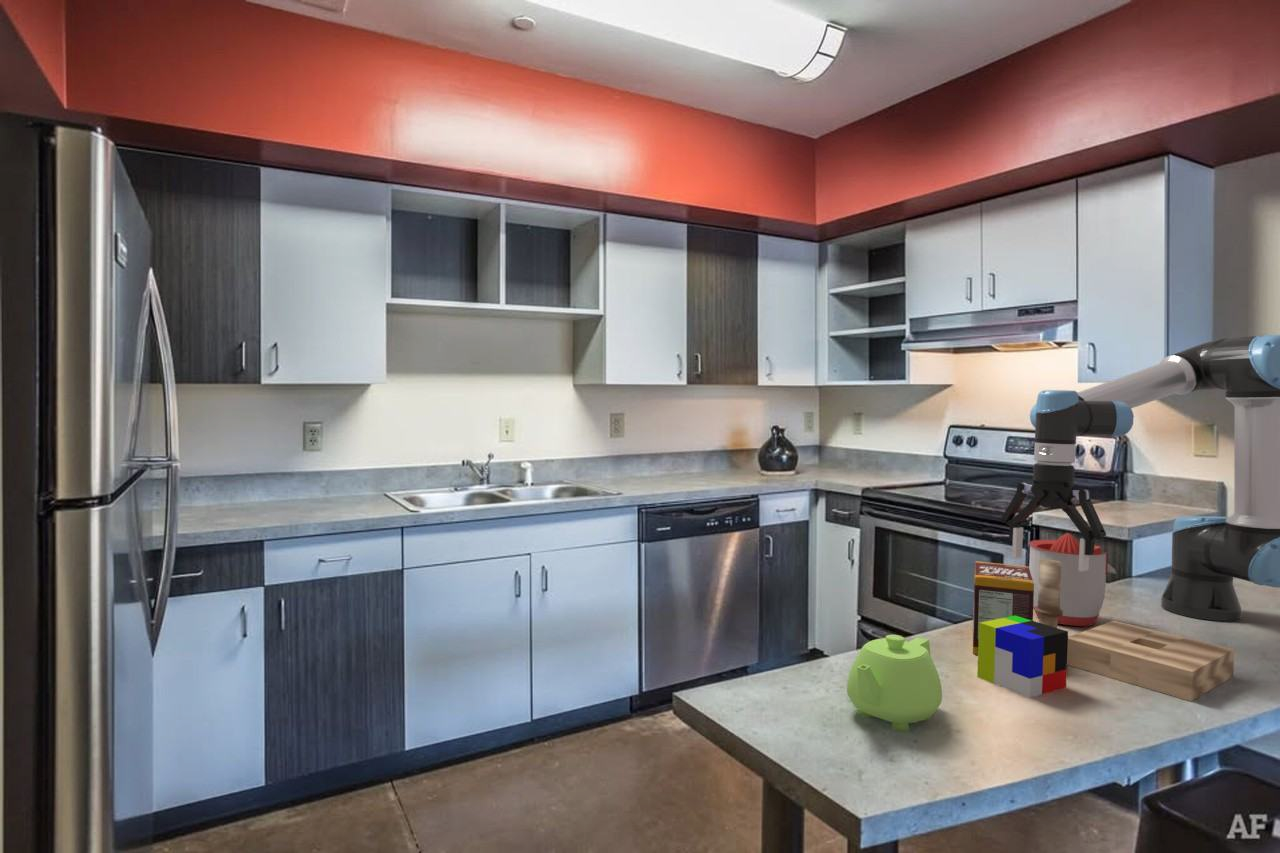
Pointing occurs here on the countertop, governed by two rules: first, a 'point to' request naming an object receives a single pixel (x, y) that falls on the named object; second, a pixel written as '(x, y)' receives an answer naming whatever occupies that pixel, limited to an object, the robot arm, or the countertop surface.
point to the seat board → (1151, 659)
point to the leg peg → (1049, 592)
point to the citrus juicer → (1073, 578)
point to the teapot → (895, 681)
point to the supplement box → (1001, 594)
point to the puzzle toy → (1022, 655)
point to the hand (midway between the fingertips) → (1048, 563)
